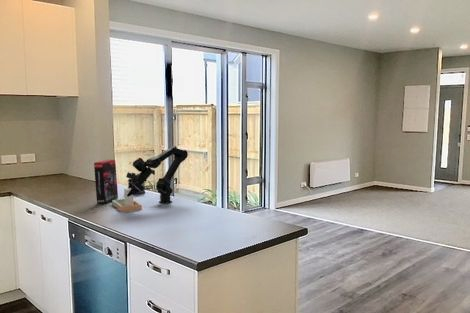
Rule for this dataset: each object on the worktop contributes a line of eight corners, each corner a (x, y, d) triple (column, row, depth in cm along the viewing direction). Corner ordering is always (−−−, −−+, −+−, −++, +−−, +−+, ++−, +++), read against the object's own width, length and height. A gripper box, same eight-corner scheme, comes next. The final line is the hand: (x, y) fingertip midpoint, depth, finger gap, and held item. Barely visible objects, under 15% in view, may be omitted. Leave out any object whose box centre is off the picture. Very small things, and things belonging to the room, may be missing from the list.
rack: (141, 209, 241) (141, 204, 241) (122, 212, 235) (121, 207, 235) (130, 202, 261) (130, 197, 261) (112, 204, 255) (112, 200, 255)
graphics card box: (105, 204, 256) (103, 162, 253) (95, 204, 257) (93, 162, 254) (118, 198, 272) (116, 159, 269) (109, 198, 274) (107, 159, 271)
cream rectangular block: (131, 205, 247) (130, 187, 245) (133, 207, 242) (132, 189, 241) (124, 206, 245) (124, 188, 244) (127, 207, 240) (126, 189, 239)
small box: (130, 194, 286) (129, 180, 285) (129, 193, 292) (128, 179, 291) (145, 193, 290) (144, 179, 289) (143, 191, 296) (143, 178, 295)
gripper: (130, 165, 251) (113, 184, 247) (137, 169, 234) (119, 189, 230) (143, 176, 255) (126, 195, 251) (151, 181, 239) (134, 201, 235)
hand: (126, 195), depth 242 cm, fingers closed on cream rectangular block, 5 cm apart
